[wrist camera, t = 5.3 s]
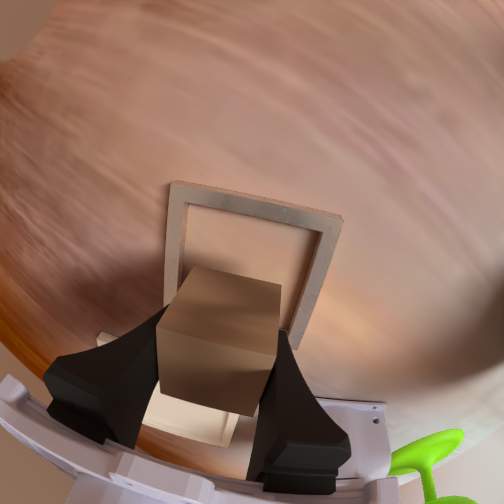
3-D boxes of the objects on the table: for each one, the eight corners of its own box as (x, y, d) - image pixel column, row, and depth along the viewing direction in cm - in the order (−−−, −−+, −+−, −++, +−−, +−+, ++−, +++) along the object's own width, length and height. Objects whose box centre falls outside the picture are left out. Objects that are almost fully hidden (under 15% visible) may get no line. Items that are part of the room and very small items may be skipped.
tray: (250, 375, 24) (248, 385, 22) (229, 440, 30) (227, 448, 29) (102, 331, 24) (96, 338, 23) (122, 407, 30) (118, 414, 29)
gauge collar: (340, 215, 17) (343, 220, 16) (297, 341, 21) (297, 350, 20) (176, 180, 17) (170, 183, 16) (168, 311, 22) (163, 318, 21)
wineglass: (460, 417, 25) (486, 517, 9) (466, 442, 29) (484, 516, 13) (364, 461, 31) (368, 558, 15) (392, 477, 35) (397, 550, 19)
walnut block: (281, 285, 14) (276, 356, 10) (262, 347, 16) (252, 417, 11) (194, 264, 14) (156, 326, 10) (189, 329, 16) (160, 393, 12)
